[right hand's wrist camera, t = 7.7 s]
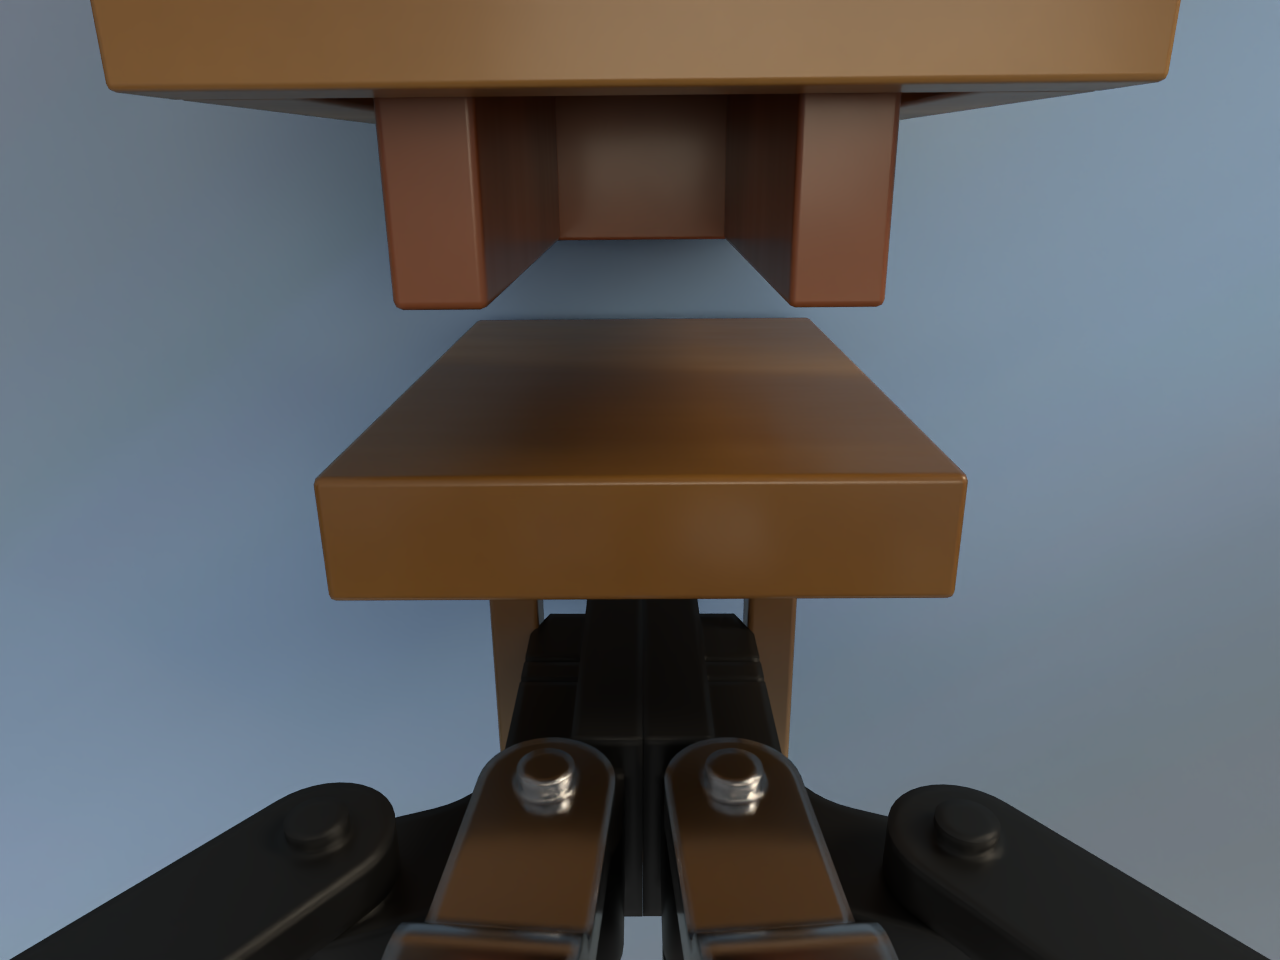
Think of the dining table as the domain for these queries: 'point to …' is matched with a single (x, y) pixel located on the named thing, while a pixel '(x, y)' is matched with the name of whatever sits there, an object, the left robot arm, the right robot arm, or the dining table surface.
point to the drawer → (640, 375)
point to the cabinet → (627, 49)
